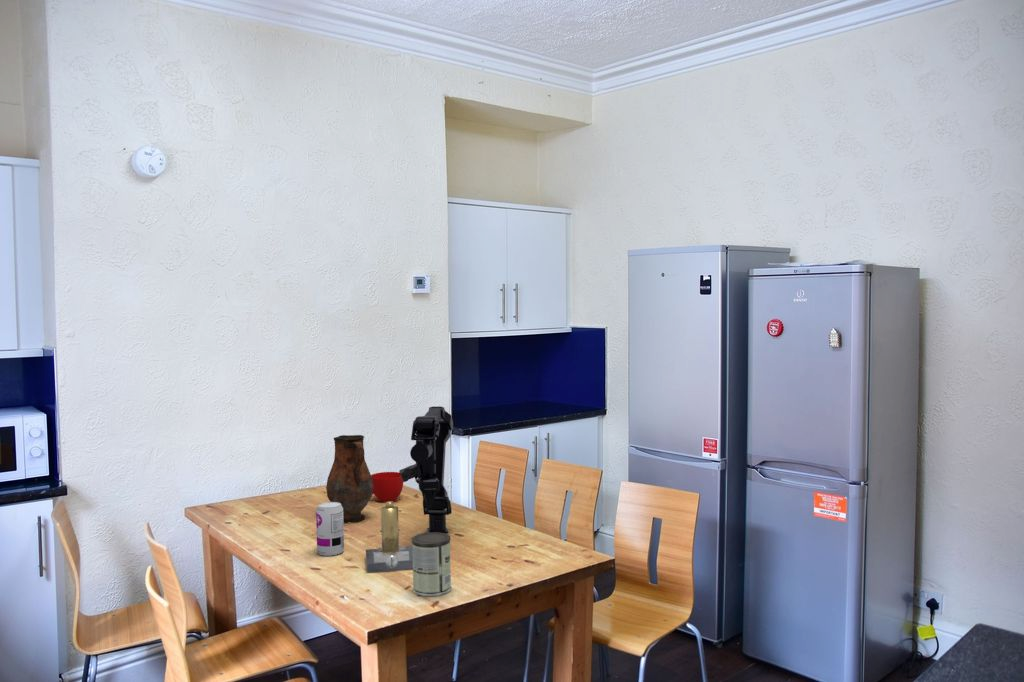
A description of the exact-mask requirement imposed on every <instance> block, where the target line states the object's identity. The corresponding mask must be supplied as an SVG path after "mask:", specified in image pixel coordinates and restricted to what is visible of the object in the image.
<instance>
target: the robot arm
mask: <svg viewBox="0 0 1024 682" xmlns="http://www.w3.org/2000/svg"><path fill="white" fill-rule="evenodd" d="M453 429H454V421H453V417H452V414H450V413H449V412H448V411H446V409H445V407H444V406H431V407H430V406H429V407H428V411H427V412H426V413H425V414H424V415H421V416H417V417H415V419H414V420H413V422H412V430H411V436H410V440H411V441H415V444H414V445H413V446H412V447H411V449H410V451H409V455H410V457H411V459H412V460H413V461H414V462H415V464H412V465H409V466H407V467H403V468H402V469H400V470H399V471H398V472H399V473H400V475H401V478H402V480H403V483H406V482H408V481H410V480H411V479H414V481H415V483H417V484H418V489H419V491H420V492H421V495H422V509H423V515H424V516H425V515H428V527H427V528H426V530H427V533H429V532H438V533H445V534H448V533H449V530H448V528H447V516H449V515H451V514H452V510H453V509H452V503H451V500H450V498H449V496H448V491H447V489H446V487H445V486H444V483H445V481H444V480H445V465H446V462H445V461H446V446H447V442H448V440H449V439H450V438H451V436H452V431H453Z"/></svg>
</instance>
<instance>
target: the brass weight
mask: <svg viewBox="0 0 1024 682" xmlns="http://www.w3.org/2000/svg"><path fill="white" fill-rule="evenodd" d="M394 502H395V501H388V502H384V503H385V505H384V506H381V508H380V510H381V511H380V512H381V513H380V517H381V518H380V519H381V522H380V523H381V524H380V525H381V547H382V552H383V553H390V552H398V551H399V547H400V545H399V544H400V542H399V541H400V540H399V539H400V537H399V531H400V529H399V506H398V505H395V503H394Z"/></svg>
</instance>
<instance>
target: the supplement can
mask: <svg viewBox="0 0 1024 682" xmlns="http://www.w3.org/2000/svg"><path fill="white" fill-rule="evenodd" d="M315 511H316V512H315V514H316V515H315V516H316V517H315V518H316V521H315V523H316V524H315V525H316V552H317V554H319V555H320V556H322V555H323V557H333V556H332V555H334V556H337V554H338V555H341V554H342V553H343V552H344V550H345V535H344V534H345V528H344V527H345V523H344V519H343V507H342V505H341V503H339V502H330V501H326V502H322V503H319V504H318V505H317V507H316V510H315ZM340 553H341V554H340Z"/></svg>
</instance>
